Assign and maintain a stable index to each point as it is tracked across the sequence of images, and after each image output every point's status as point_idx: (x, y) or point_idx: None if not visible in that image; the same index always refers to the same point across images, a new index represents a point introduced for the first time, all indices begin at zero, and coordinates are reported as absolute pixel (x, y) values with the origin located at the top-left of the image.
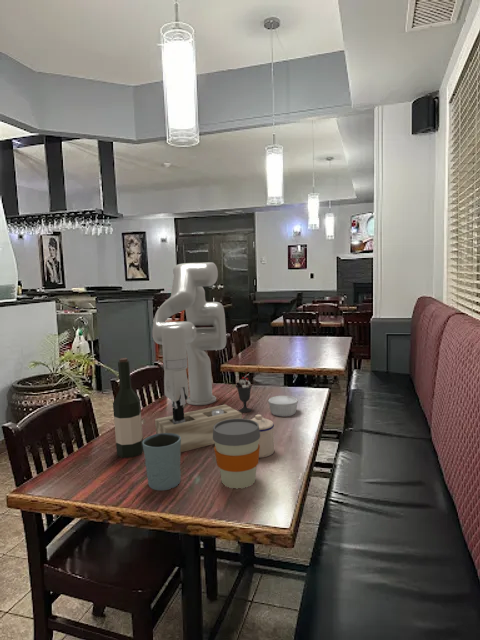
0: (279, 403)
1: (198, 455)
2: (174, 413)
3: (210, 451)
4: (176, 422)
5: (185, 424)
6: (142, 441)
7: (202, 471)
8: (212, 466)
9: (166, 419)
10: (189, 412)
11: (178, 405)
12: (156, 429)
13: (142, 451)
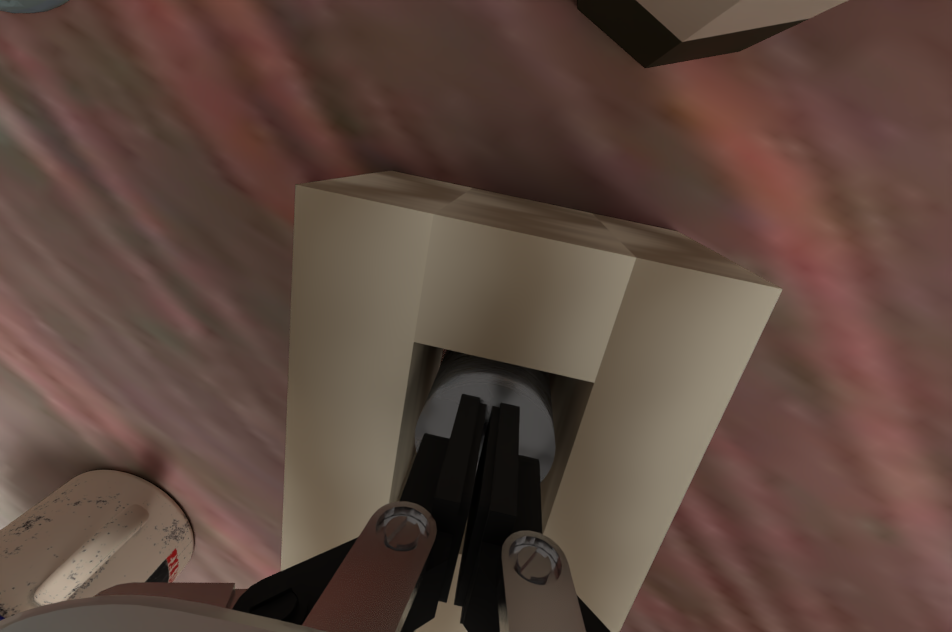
0: None
1: (267, 307)
2: (449, 448)
3: (276, 386)
4: (445, 387)
5: (329, 411)
6: (648, 30)
7: (50, 190)
8: (87, 272)
9: (636, 375)
10: (609, 617)
11: (290, 577)
12: (701, 252)
13: (601, 26)
